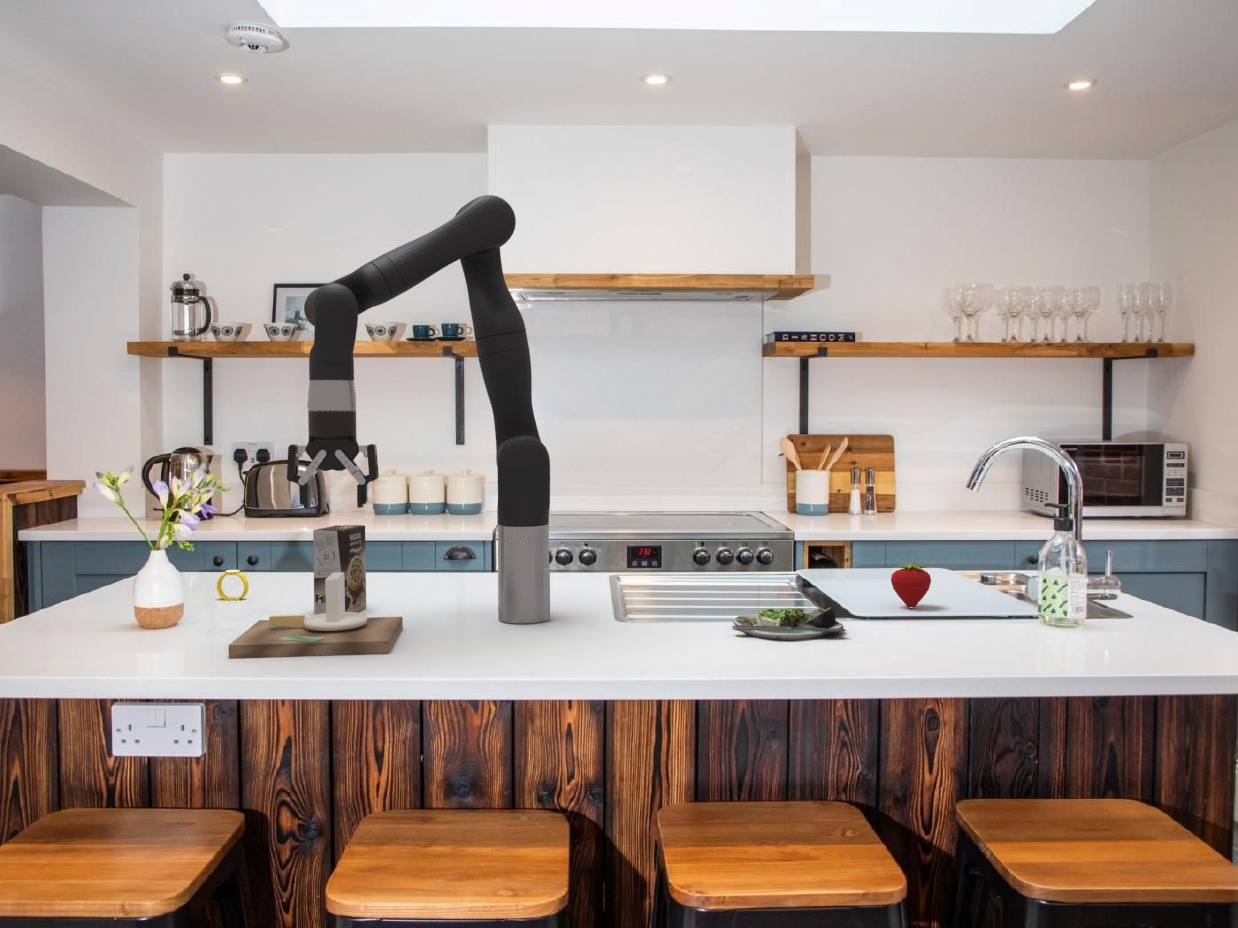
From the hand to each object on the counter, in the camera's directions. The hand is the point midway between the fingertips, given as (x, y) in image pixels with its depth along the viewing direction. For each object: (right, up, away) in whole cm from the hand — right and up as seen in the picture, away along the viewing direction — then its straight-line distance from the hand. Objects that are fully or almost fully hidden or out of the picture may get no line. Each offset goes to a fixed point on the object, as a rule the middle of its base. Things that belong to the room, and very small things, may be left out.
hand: (333, 507), depth 160 cm
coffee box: (-5, -21, +23) cm, 31 cm away
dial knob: (-3, -19, +1) cm, 20 cm away
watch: (-31, -20, +36) cm, 52 cm away
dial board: (-2, -22, -1) cm, 22 cm away
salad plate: (+76, -22, +7) cm, 80 cm away
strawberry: (+102, -20, +25) cm, 107 cm away
